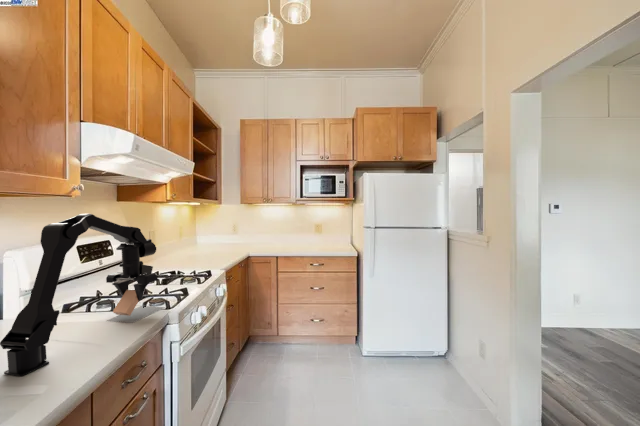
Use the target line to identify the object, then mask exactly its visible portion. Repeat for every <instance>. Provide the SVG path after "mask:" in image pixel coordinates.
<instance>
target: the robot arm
mask: <svg viewBox="0 0 640 426" xmlns="http://www.w3.org/2000/svg"><path fill="white" fill-rule="evenodd" d="M89 229H90V230H93V231H96V232H100V233H102V234H106V235H110V236H111V237H113V239H114V240H116V241H117V242H120V244H119V245H117V247H116V251H121V263H119V267H121V268H122V271H121V272H115V273H111V274H108V275H107V276H106V278H105V281H106V283H108V284H111V285H112V286H114V287H115V289H117V291H118V292H119V293H120V295H121V297H122V296H123V295H124V293H125V292H126V290H129V284H130V283H131V281H136V282H137V283H134V284H133V288H134V290H135V292H136V295H137V298H138V302H140V301H141V300H142V299H143V297H144V296H143V295H144V293H145V290H146V288H147V286H148V285H149V284H151V283H153V282H156V281H158V274H157V273H153V269H154V266H152V265H148V264H147V265H146V264H144V262H143V260H141V259H140V258H144V257H145V258H146V257H149V256H153V255H155V254H156V252H157V246H156V244H155V243H154V242H153V241H152V239H150V238H148V239H147V238H146V237H145V235H144V234H143V232H142V231H141V229H140V228H139V227H137V226H136V227H135V226H128V225H127V226H126V225H120V224H118V223H116V222H112V221H110V220H107V219H105V218H101V217H98V216H97V215H94V214H92V213H79V214H77V215H75V216H72V217H71V218H67V219H64V220H60V221H58V222H56V223H55V222H54V223H48V224H47V225H45V226H43V228H42V230H41V233H40V245H41V247H42V251H43V253H42V254H43V255H42V257H41V261H40V264H39V268H38V271H37V273H36V277H35V280H34V283H33V287H32V290H31V294H30V296H29V300H28V303H27V304H26V305H25V306H24V308H22V310H21V311H19V313H18V314H17V315H16V317H15V320H14V321H13V324H12V326H11V328H10V330H9V331H8V332H7V333H6V335H5V336H4V337H3V338H2V340H1V341H0V347H1V348H2V350H6V356H7V357H6V358H7V370H5V371H3V375H8V376H14V377H15V376H16V377H23V376H25V375H27V374H30V373H31V372H34V371H36V370H38V369H40V368H42V367H44V366H47V365H48V364H50V361H49V360H47V346H46V344H48V343H49V340H50V336H51V333H52V332H53V330H54V327H55V326H57V325H58V324H57V323H58V322H57V321H58V318H59V315H60V310H58V309H54V306H53V301H54V298H55V294H56V291H57V287H58V284H59V280H60V277H61V273H62V269H63V265H64V262H65V260H66V259H65V258H66V256H67V253H68V252H69V251H70V250H72V249H73V247H74V246H75V245H76V242H77V240H78V238H79V236H80V235H83V234H84V233H86V232H87V231H88V230H89Z"/></svg>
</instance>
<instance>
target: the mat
mask: <svg viewBox="0 0 640 426" xmlns="http://www.w3.org/2000/svg"><path fill="white" fill-rule="evenodd" d="M142 306H143V305H140V306H138V307H137V306H136V307H135V308H134V310H133V312H132V313H131V315H130V316H128V315H117V316H115V317H112V318H110V319H107V320H106V322H112V323H125V324H135V323H136V322H139V321H140V320H143V319H144V318H146V317H149V316H151V315H153V314H155V313H156V312H159V311H161V310H163V309H165V308H166V307H164V306H152V305H150V306H149V305H145V306H146V307H144V308H143V307H142Z"/></svg>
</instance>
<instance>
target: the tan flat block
mask: <svg viewBox="0 0 640 426" xmlns="http://www.w3.org/2000/svg"><path fill="white" fill-rule="evenodd" d="M138 303H139V301H138V298H137V295H136V292H135V289H128V290H126V292H125V293H124V295H123V296H122V295H121V298H120V299H119V301H118V302H117V304H116V306H115V307H114V308H113V311H112V313H113V314H115V315H117V316H119V315H128V316H130V315H131V313H132V312H133V310H134V309H135V308H137V305H138Z"/></svg>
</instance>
